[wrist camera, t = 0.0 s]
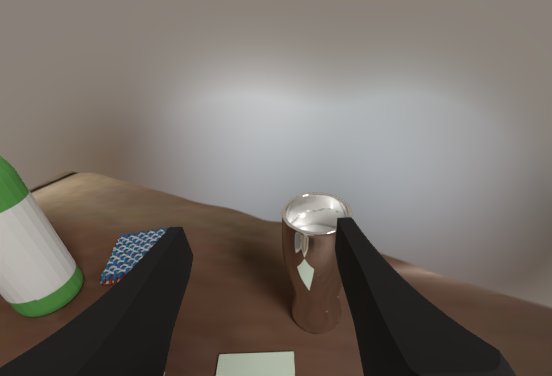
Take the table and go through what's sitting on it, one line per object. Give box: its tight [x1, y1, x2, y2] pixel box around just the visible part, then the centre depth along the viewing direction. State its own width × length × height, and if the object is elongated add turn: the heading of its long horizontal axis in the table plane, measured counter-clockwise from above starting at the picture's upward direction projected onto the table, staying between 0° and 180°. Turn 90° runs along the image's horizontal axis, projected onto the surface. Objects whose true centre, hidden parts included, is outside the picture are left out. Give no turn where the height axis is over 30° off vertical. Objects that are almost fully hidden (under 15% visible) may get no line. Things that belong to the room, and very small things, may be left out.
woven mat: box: [100, 226, 172, 285], centre depth 43 cm, size 10×11×2 cm
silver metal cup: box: [282, 193, 352, 333], centre depth 29 cm, size 7×7×15 cm
